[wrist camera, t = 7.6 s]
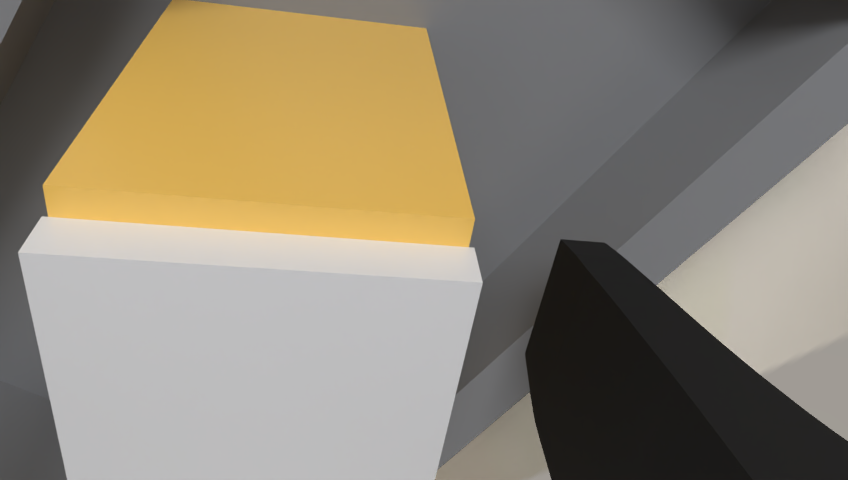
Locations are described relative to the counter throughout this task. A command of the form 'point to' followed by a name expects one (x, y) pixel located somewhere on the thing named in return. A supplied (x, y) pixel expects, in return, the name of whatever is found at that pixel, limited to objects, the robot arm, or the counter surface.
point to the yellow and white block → (257, 256)
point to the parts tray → (478, 147)
